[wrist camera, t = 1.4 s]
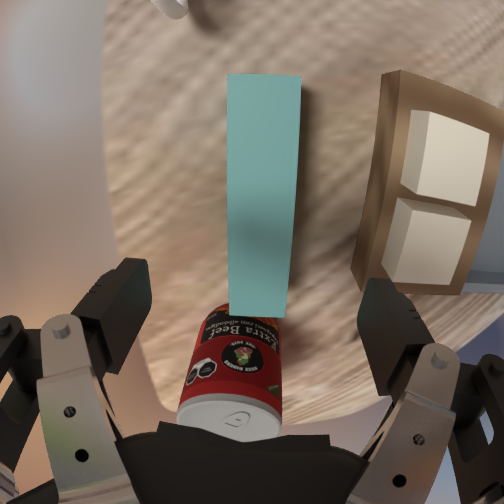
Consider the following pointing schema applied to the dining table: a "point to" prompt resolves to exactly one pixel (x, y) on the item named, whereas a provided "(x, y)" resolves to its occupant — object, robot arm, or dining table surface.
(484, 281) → the tray
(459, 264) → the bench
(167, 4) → the cup
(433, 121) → the tile
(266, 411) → the canned food
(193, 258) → the dining table surface
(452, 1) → the dining table surface
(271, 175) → the teal rectangular block
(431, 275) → the tile
